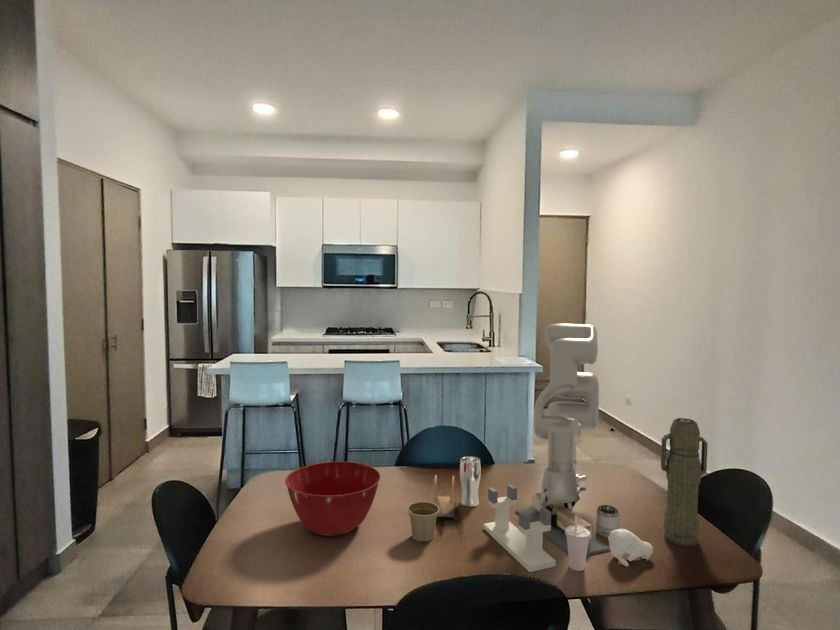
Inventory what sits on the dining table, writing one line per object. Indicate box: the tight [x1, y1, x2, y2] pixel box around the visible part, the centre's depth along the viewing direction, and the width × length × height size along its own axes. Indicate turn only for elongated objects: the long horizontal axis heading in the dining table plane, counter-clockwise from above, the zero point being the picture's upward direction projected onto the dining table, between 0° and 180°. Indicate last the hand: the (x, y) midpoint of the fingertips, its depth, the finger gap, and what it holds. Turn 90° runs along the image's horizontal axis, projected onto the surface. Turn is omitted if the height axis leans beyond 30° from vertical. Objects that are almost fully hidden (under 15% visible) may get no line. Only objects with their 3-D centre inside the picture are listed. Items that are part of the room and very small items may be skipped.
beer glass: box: [459, 455, 482, 508], centre depth 172 cm, size 7×7×15 cm
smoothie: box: [565, 514, 591, 572], centre depth 133 cm, size 6×6×14 cm
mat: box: [515, 506, 610, 557], centre depth 154 cm, size 12×30×1 cm, turn 21°
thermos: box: [660, 417, 708, 547], centre depth 148 cm, size 9×12×35 cm
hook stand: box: [483, 483, 557, 573], centre depth 144 cm, size 8×25×14 cm, turn 21°
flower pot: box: [406, 501, 440, 543], centre depth 149 cm, size 9×9×9 cm
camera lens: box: [595, 504, 620, 539], centre depth 152 cm, size 6×6×8 cm
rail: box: [531, 492, 593, 540], centre depth 154 cm, size 4×24×4 cm, turn 21°
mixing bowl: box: [284, 461, 382, 537], centre depth 156 cm, size 28×28×15 cm
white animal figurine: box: [607, 528, 654, 567], centre depth 137 cm, size 6×8×12 cm
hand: (559, 523), depth 154 cm, fingers closed on rail, 4 cm apart
